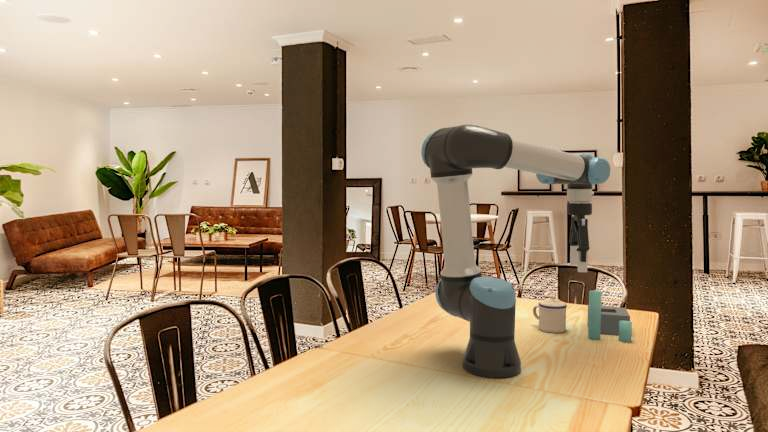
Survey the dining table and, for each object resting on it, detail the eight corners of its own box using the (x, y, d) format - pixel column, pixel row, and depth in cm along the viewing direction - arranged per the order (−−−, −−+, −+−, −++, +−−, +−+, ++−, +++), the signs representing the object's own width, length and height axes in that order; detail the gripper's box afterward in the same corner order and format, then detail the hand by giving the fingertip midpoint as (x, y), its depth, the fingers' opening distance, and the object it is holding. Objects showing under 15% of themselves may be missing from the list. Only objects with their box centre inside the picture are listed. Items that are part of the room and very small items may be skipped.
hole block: (629, 336, 170) (630, 316, 170) (589, 332, 174) (590, 313, 174) (624, 326, 182) (625, 307, 181) (587, 323, 185) (587, 305, 185)
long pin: (600, 340, 166) (602, 292, 165) (588, 339, 167) (589, 292, 166) (599, 337, 169) (601, 290, 168) (587, 336, 170) (588, 290, 169)
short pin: (632, 343, 163) (632, 323, 163) (619, 341, 164) (620, 322, 164) (630, 339, 166) (631, 320, 166) (618, 338, 168) (618, 320, 167)
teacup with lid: (571, 330, 177) (572, 295, 177) (556, 335, 171) (557, 299, 171) (540, 322, 186) (541, 290, 186) (525, 327, 181) (525, 293, 180)
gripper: (600, 204, 156) (599, 275, 157) (584, 201, 180) (582, 262, 181) (574, 204, 157) (572, 274, 158) (561, 201, 181) (560, 262, 183)
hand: (578, 268), depth 170 cm, fingers open, 13 cm apart
